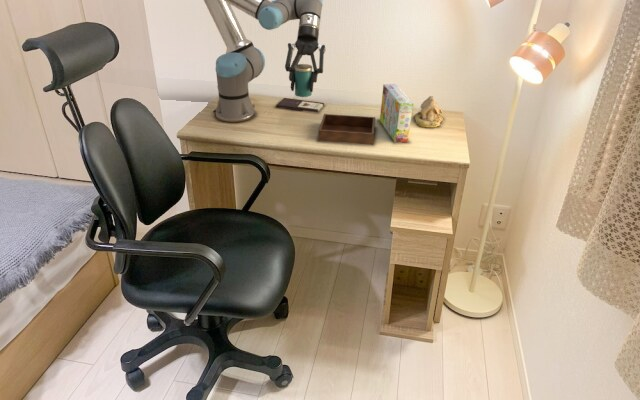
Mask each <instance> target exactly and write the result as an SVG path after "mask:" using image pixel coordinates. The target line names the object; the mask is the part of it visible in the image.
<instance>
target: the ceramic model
mask: <svg viewBox="0 0 640 400" xmlns="http://www.w3.org/2000/svg"><path fill="white" fill-rule="evenodd" d="M442 114H443V109H442V108H441V107H440V106H439V105H438V104H437V102H436V100H435V97H434V96H432V95H429V96H428V97H427V98H426V99H425V100H423V102H422V103H421V104H420V111H417V112H416V114H415V115H414V120H415V122H416V124H417V126H419V127H421V128H437V127H439V126H440V125H441V122H442V121H443V120H444V116H442Z"/></svg>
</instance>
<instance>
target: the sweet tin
mask: <svg viewBox="0 0 640 400" xmlns="http://www.w3.org/2000/svg"><path fill="white" fill-rule="evenodd" d="M294 69H295V85H294V95H295V96H296V97H299V98H308V97H311V96H312V93H313V92H310V81H311V72H312V71H313V65H312V64H307V63H298V65H295V66H294Z"/></svg>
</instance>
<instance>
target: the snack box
mask: <svg viewBox="0 0 640 400" xmlns="http://www.w3.org/2000/svg"><path fill="white" fill-rule="evenodd" d="M380 105H381V106H380V114H379V122H380V123H381V124H382V126H383V127H384V129H385V130H386V132H387V134H388V135H389V136H390V138H391V139H392V141H393V142H394V143H408V142H409V135H410V129H411V122H412V117H413V116H412V114H413V109H414V102H413V101H412V100H411V99H410V98H409V97H408V96H407V95H406V93H405V92H404V91H403V90H402V89H401V88H400V87H399V86H398V85H397V84H396V83H387V84H386V83H385V84H384V83H383V84H382V95H381V104H380Z"/></svg>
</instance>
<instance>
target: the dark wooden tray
mask: <svg viewBox="0 0 640 400" xmlns="http://www.w3.org/2000/svg"><path fill="white" fill-rule="evenodd" d="M375 124H376V116H364V115H363V116H362V115H348V114H347V115H346V114H333V113H323V116H322V119H321V122H320V125H319V128H318V141H319V142H332V143H345V144H361V145H374V137H375V126H376V125H375Z"/></svg>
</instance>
